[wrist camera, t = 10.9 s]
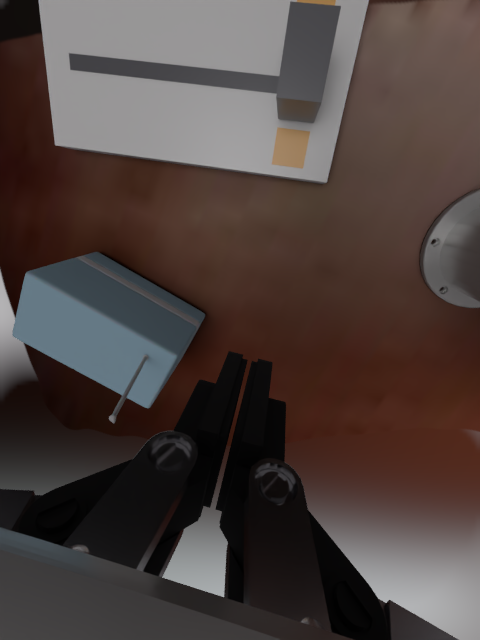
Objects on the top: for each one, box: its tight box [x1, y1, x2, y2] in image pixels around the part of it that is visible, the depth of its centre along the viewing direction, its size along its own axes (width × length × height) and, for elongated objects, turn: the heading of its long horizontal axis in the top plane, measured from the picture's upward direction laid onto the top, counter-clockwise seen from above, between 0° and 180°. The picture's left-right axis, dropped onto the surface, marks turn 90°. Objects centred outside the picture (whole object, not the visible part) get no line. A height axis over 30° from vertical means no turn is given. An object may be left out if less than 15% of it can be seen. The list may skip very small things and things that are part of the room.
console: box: [39, 0, 369, 184], centre depth 27 cm, size 28×14×3 cm, turn 82°
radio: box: [13, 252, 205, 423], centre depth 30 cm, size 16×9×20 cm, turn 60°
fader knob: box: [276, 1, 341, 123], centre depth 22 cm, size 3×5×6 cm, turn 172°
